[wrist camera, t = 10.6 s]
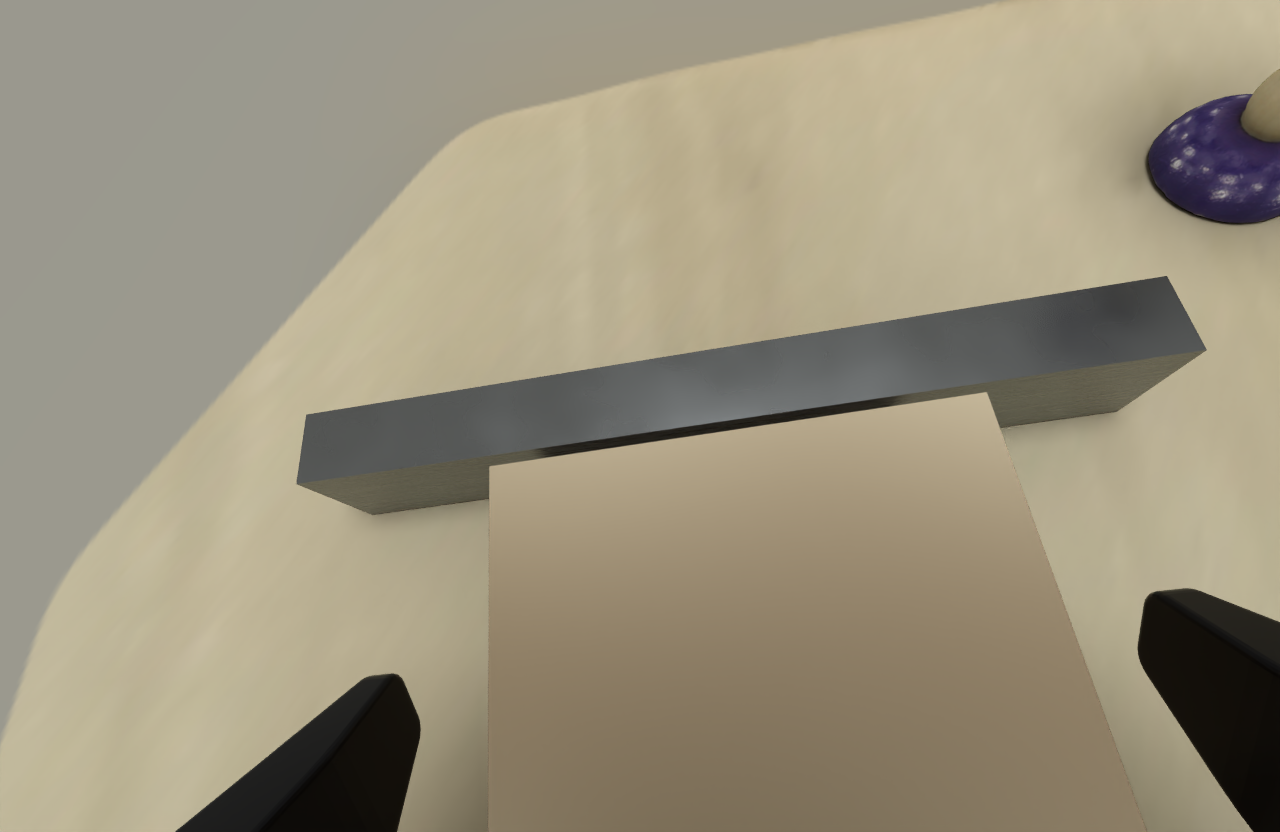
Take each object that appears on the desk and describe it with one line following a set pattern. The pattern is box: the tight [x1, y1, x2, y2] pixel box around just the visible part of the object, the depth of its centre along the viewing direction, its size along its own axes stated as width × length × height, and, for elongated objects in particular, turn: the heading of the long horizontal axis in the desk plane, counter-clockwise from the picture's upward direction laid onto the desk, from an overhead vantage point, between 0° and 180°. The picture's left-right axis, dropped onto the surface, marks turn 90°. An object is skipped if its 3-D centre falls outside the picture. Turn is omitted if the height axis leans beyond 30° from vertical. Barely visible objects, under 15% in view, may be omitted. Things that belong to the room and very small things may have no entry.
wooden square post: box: [488, 392, 1147, 832], centre depth 10 cm, size 4×4×13 cm
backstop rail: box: [297, 276, 1207, 515], centre depth 17 cm, size 2×22×4 cm, turn 95°
